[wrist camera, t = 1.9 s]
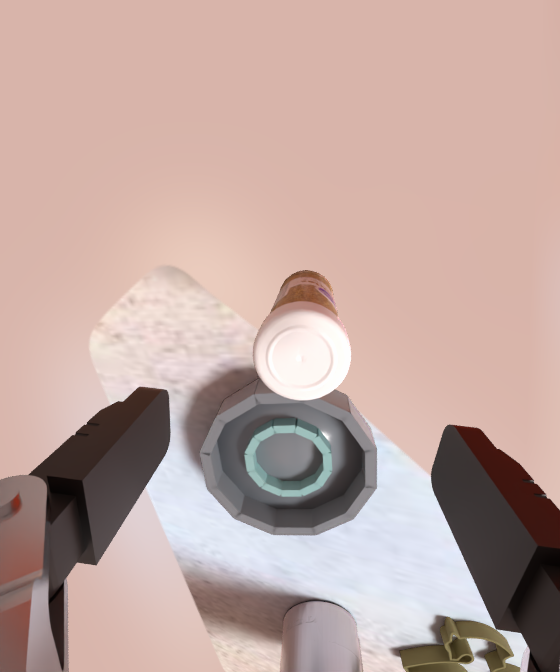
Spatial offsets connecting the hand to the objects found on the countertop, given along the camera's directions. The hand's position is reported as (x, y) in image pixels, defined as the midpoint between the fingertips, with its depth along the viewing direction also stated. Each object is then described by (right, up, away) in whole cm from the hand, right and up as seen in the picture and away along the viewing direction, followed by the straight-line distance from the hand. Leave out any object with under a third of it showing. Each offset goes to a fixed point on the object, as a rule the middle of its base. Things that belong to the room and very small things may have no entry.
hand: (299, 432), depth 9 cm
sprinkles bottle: (+2, +6, +18) cm, 19 cm away
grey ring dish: (0, -9, +23) cm, 24 cm away
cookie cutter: (+24, -39, +32) cm, 55 cm away
